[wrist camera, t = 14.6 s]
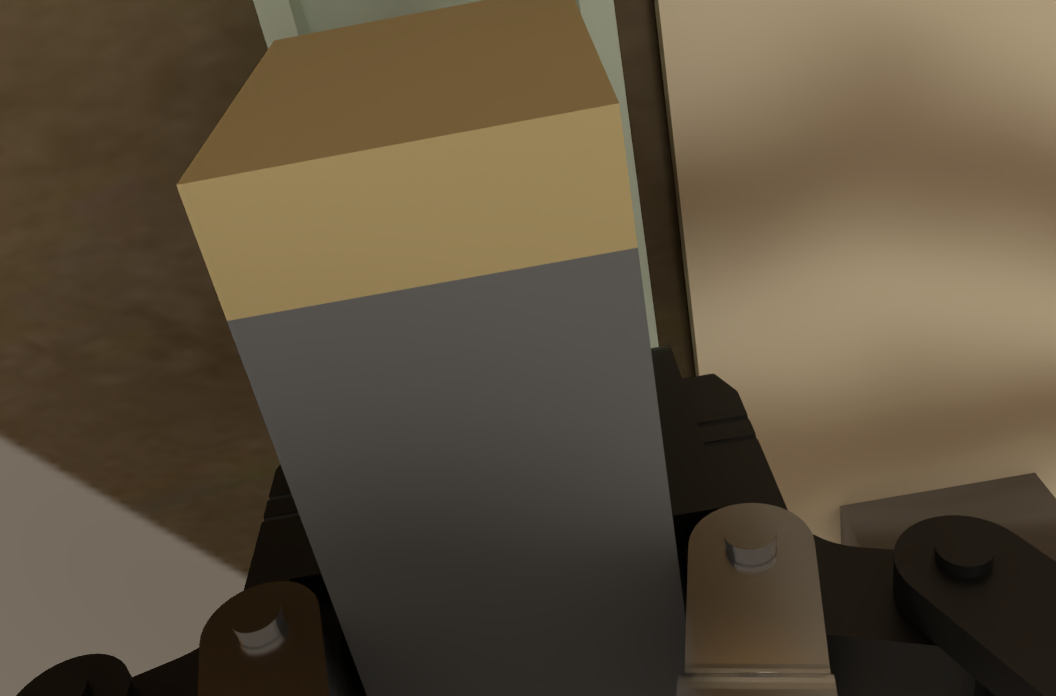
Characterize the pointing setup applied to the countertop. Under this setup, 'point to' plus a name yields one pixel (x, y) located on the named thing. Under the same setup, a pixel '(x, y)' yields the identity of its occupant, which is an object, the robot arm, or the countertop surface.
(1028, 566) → the robot arm
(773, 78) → the flat beige board
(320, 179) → the long gray brick
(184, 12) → the countertop surface
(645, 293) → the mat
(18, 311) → the countertop surface
